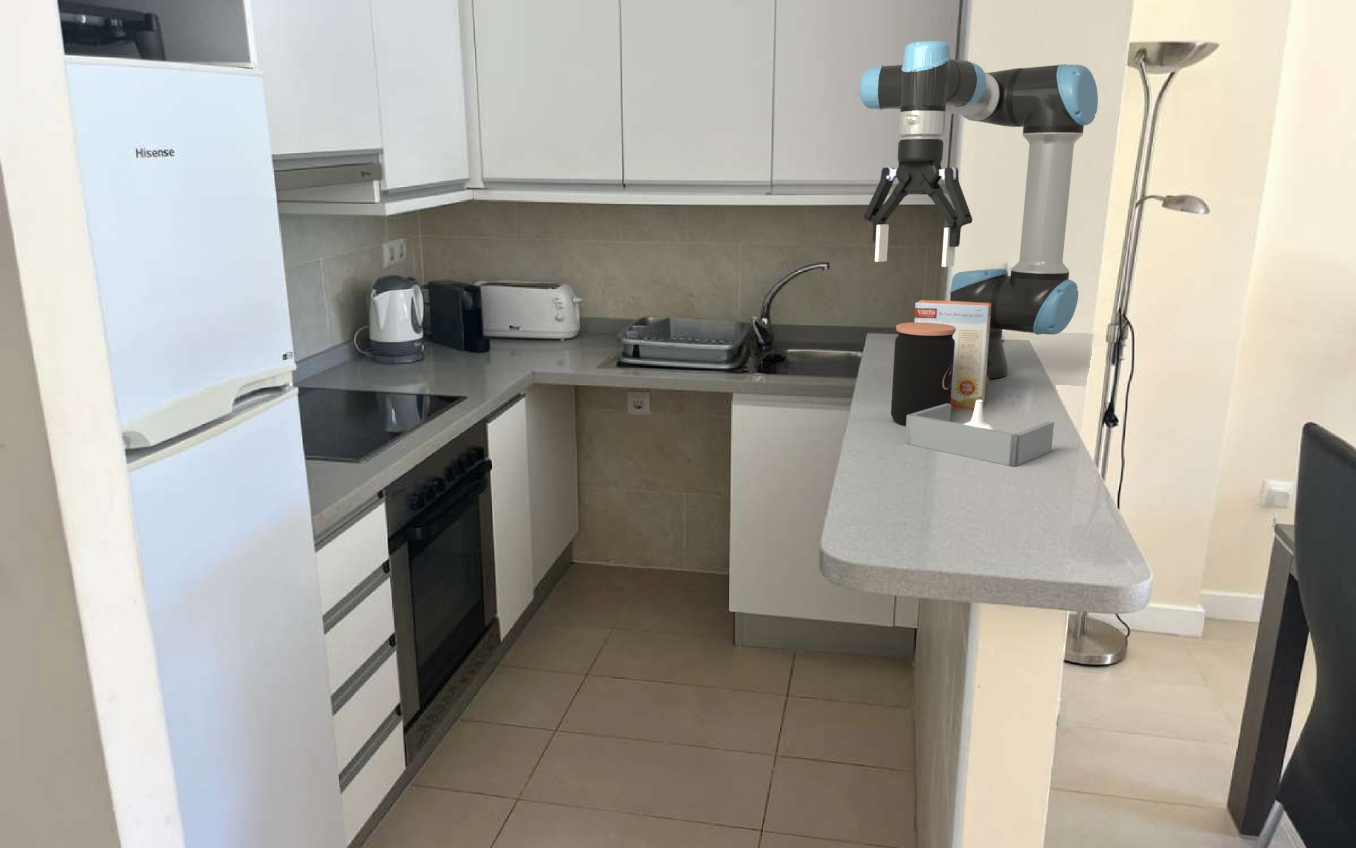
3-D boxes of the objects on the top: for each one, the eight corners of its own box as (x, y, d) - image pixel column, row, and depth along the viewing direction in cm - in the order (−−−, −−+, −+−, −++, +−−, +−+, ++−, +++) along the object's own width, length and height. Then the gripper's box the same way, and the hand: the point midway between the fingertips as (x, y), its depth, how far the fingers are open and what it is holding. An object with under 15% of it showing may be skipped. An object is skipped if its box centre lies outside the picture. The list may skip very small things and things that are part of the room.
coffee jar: (950, 430, 181) (958, 331, 176) (890, 427, 183) (896, 329, 178) (947, 417, 191) (954, 323, 186) (890, 414, 193) (895, 321, 188)
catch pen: (944, 430, 181) (946, 403, 179) (1051, 451, 167) (1054, 422, 166) (905, 443, 172) (906, 415, 170) (1014, 466, 158) (1017, 436, 157)
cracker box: (984, 406, 200) (992, 301, 195) (981, 412, 194) (989, 305, 189) (913, 400, 205) (920, 298, 200) (908, 406, 200) (915, 301, 195)
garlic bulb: (956, 440, 173) (955, 396, 170) (994, 438, 171) (993, 394, 169) (958, 452, 167) (957, 407, 165) (998, 451, 166) (996, 405, 163)
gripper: (848, 139, 177) (842, 260, 182) (976, 135, 160) (966, 269, 165) (872, 140, 182) (866, 258, 187) (999, 137, 165) (989, 267, 170)
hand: (913, 263), depth 176 cm, fingers open, 13 cm apart
